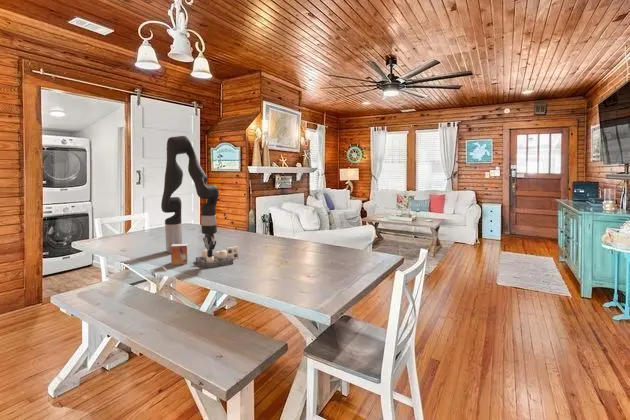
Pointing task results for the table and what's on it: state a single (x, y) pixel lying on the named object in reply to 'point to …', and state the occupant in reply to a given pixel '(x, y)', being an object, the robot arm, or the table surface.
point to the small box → (179, 254)
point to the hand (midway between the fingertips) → (210, 256)
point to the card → (233, 252)
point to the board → (215, 263)
